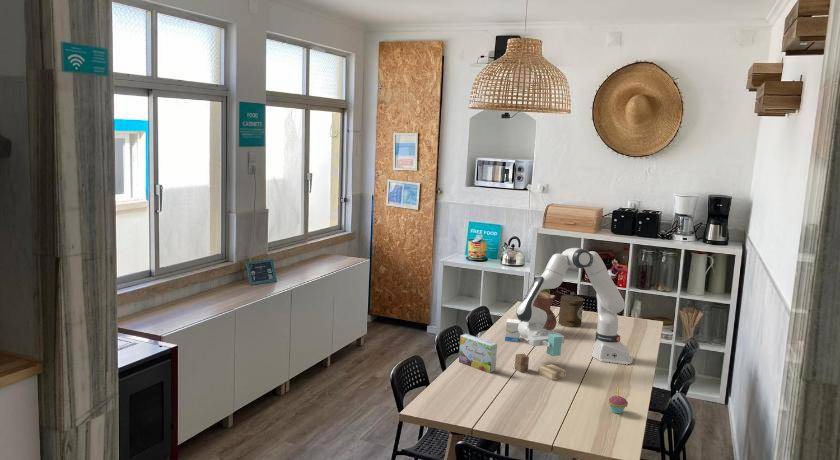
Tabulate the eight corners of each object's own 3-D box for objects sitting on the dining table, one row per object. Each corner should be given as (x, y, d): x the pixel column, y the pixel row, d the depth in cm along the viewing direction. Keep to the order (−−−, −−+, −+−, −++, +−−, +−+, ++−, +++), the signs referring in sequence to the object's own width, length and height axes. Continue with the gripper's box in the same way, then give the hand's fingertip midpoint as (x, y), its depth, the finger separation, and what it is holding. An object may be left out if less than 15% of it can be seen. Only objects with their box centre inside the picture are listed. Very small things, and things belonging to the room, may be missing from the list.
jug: (560, 332, 423) (563, 294, 419) (547, 340, 405) (551, 300, 402) (528, 325, 435) (531, 288, 431) (514, 332, 417) (517, 293, 413)
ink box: (518, 342, 398) (520, 323, 396) (504, 340, 400) (506, 321, 398) (519, 338, 406) (521, 319, 405) (505, 336, 408) (507, 318, 406)
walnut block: (522, 367, 354) (523, 353, 353) (527, 371, 350) (529, 356, 349) (514, 368, 352) (515, 354, 351) (519, 372, 348) (521, 357, 347)
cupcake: (604, 407, 308) (607, 382, 306) (622, 407, 309) (625, 383, 307) (611, 415, 299) (614, 390, 298) (629, 415, 300) (632, 390, 298)
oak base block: (551, 371, 353) (552, 364, 352) (565, 377, 344) (566, 370, 344) (537, 374, 347) (538, 366, 346) (551, 380, 339) (552, 373, 338)
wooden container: (583, 328, 435) (586, 295, 432) (560, 326, 435) (563, 294, 432) (578, 321, 450) (581, 290, 447) (556, 320, 450) (559, 288, 447)
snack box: (457, 362, 357) (459, 335, 355) (464, 360, 362) (466, 333, 359) (489, 373, 343) (491, 345, 341) (496, 371, 347) (498, 343, 345)
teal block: (554, 352, 347) (556, 333, 346) (560, 355, 343) (562, 336, 341) (546, 353, 345) (548, 334, 344) (552, 356, 341) (554, 337, 339)
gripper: (523, 332, 350) (539, 340, 337) (555, 329, 359) (571, 336, 346) (522, 343, 351) (538, 352, 338) (554, 340, 360) (570, 348, 347)
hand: (555, 344), depth 342 cm, fingers closed on teal block, 5 cm apart
